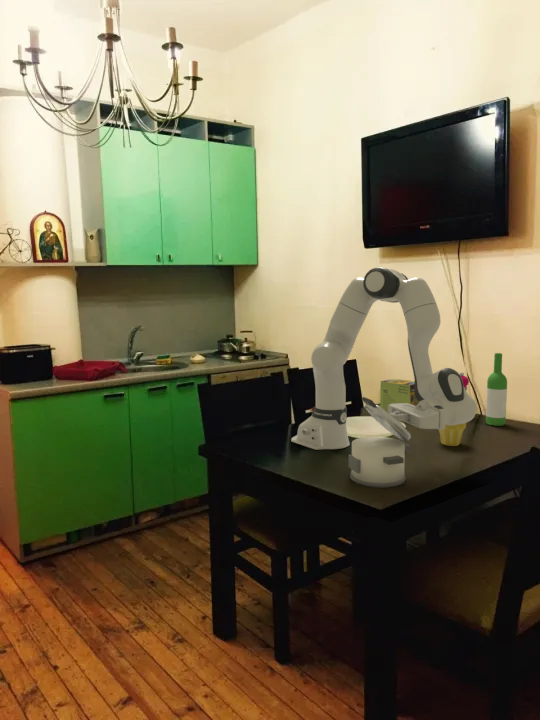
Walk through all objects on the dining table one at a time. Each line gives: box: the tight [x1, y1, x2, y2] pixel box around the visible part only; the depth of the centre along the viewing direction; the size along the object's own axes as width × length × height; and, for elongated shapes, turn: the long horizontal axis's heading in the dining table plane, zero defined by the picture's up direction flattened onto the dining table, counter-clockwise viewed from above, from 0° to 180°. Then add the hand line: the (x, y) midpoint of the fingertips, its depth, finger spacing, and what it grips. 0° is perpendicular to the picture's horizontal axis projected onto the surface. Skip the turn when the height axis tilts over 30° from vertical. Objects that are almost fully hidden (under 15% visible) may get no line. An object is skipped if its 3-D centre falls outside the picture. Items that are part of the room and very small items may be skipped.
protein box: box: [379, 378, 419, 412], centre depth 260 cm, size 10×15×16 cm
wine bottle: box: [485, 352, 508, 427], centre depth 240 cm, size 8×8×30 cm
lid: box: [361, 396, 412, 442], centre depth 177 cm, size 19×17×2 cm
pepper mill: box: [459, 371, 470, 391], centre depth 255 cm, size 7×7×20 cm
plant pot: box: [438, 422, 467, 447], centre depth 214 cm, size 10×10×10 cm
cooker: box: [348, 436, 412, 489], centre depth 178 cm, size 18×21×11 cm
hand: (389, 417), depth 177 cm, fingers closed, pressing on lid
